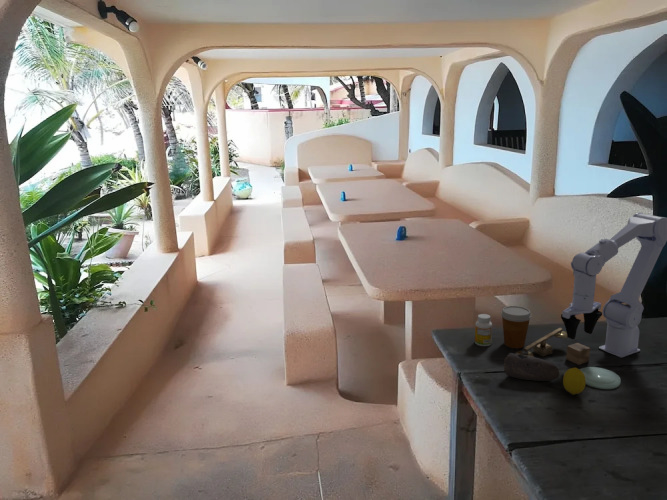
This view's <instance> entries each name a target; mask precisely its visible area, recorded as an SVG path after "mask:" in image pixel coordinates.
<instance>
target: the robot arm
mask: <svg viewBox="0 0 667 500" xmlns="http://www.w3.org/2000/svg"><path fill="white" fill-rule="evenodd" d="M634 239H636V240H637V241H639V244H640V249H639V251H638V253H637V256H636V257H635V260H634V262H633V264H632V265H631V268H630V271H629V273H628V275H627V277H626V279H625V281H624V284H623V285H622V288H620V289H621V290H620V291H619V292H615V293H614V294H611V295H610V298H609V299H608V301H606V302H605V303H604V305H603V306H602V303H600V302H599V301H598V302H597V301H595V300H594V299H595V291H596V282H597V275H598V274H600V273H601V271H602V269H603V267H604V266H605V264H606V263H607V262H609V260H611V259H613V258H614V257H615V256H616V255H618V253H619V248H622V247H623V246H625V245H626V244H627V243H629V242H631V241H632V240H634ZM666 243H667V217H664V216H657V215H652V214H646V213H643V212H636V213H634V214H633V215H632V216H631V217H629V218H628V222H627V224H626V225H625V226H624V227H623V228H621V229H620V230H619V231H618V232H617V233H615V234H614V235H612V237H611V238H609V239H608V238H604V239H600V240H599V242H598V243H596V244H595V245H593V246H592V247H590V248H589V249H587V250H586V251H585V252H578V253H576V254H575V256H574V257H572V261H570V268H571V269H572V270H573V277H574V280H573V289H572V290H573V291H572V301H571V303H569V304H568V305H569V306H568V307H567V308H565V309H564V310H562V313H561V314H560V318H561V320H562V322H563V325H564V327H565V330H566V331H565V332H567V337H568V338H567V339H571V340H575V339H576V336H577V331H578V327H579V324H580V323H581V322H582V321H581V319H580V318H577V317H576V316H578V315H581V314H583V330H584V333H587V334H589V335H592V334H593V332H594V329H595V326H596V324H597V323H598V321H599V319H600V318H601V317H602V316H603V317H604V318H605V322H606V323H607V326H606V335H605V343H604V345H600V346H598V349H599V350H601V351H603V352H606V353H609V354H611V355H614V356H616V357H618V358H625V357H627V356H629V355H632V354H637V353H638V352H640V351H641V349H640V348H638V347H639V338H640V329H639V326H638V325H640V323H641V321H642V316H643V315H642V313H643V311H644V309H645V308H644V305H643V304H642V303H641V301H640V297H641V295H642V292H643V290H644V289H645V286H646V285H647V282H648V280H649V278H650V276H651V274H652V272H653V270H654V267H655V265H656V263H657V260H658V259H659V256H660V254H661V252H662V250H663V248H664V246H665V245H666ZM602 307H603V308H602ZM601 308H602V311H600V310H601Z"/></svg>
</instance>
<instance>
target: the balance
mask: <svg viewBox="0 0 667 500" xmlns="http://www.w3.org/2000/svg"><path fill="white" fill-rule="evenodd" d="M553 337H555V338H557V339H569V338H568V337H567V332H566V331H564V329H563V328H562V327H558V328H557V329H555V330H553V331H552V332H549V333H547V334H546V335H544V336H542V337H540V338H539V339H537V340H535V341H534V342H532V343H529V344H528V345H526V346H524V347H523V349H522V350H518V351H516V352H515V354H522V355H526V356H531V357H534V353H535V354H537V355H539V354H540V355H539V356H541V357H546V356H548V355H549V356H550V355H551V354H553V348H554V347H553V345H550V344H548V343H547V341H548V340H549V339H551V338H553ZM530 350H532V352H531V351H530Z"/></svg>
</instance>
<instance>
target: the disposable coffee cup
mask: <svg viewBox="0 0 667 500" xmlns="http://www.w3.org/2000/svg"><path fill="white" fill-rule="evenodd" d="M500 311H501V310H500ZM500 315H501V317H502V318H501V319H502V321H501V322H502V331H503V342H504V343H503V344H504V345H505V346H506V347H508V348H511V349H522V348H525V344H526V339H527V335H528V329H529V325H530V320H531V318H532V313H531V310H530V309H529V308H528V307H524V306H520V305H519V306H518V305H508V306H504V307H503V308H502V311H501V312H500Z"/></svg>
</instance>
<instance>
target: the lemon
mask: <svg viewBox="0 0 667 500" xmlns="http://www.w3.org/2000/svg"><path fill="white" fill-rule="evenodd" d="M562 385H563V387H564V389H565V390H566V392H567V393H570V394H571V395H573V396H575V395H578V394H581V393H582V392H583V391H584V390H585V387H586V379H585V375H584V373H583V372H582V371H581V370H580V368H577V367H571V368H568V369H567V370H566V371H565V372H564V374H563V378H562Z"/></svg>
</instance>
